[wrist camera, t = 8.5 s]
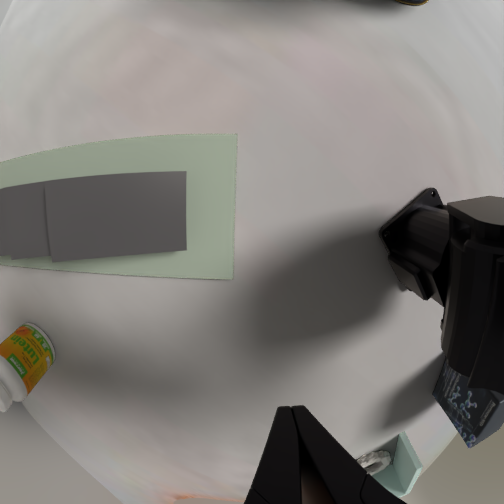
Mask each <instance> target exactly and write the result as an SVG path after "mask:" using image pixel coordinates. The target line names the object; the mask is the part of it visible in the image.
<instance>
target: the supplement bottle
mask: <svg viewBox="0 0 504 504" xmlns="http://www.w3.org/2000/svg"><path fill="white" fill-rule="evenodd" d="M54 361H55V351H54V347H53V345H52V343H51V341H50V339H49V338H48V337H47V335H46V334H45V333H44V332H43V331H42V330H41V329H40V328H39V327H37V326H36V325H34V324H31V323H25V324H23V325H22V326H20V327H19V328H18V329H17V330H16V331H15V332H14V333H12V334H11V335H10V336H9V337H8V338H7V339H6V340H5V341H3V342H2V343H1V344H0V411H2V412H6V411H7V409H8V408H9V407H10V406H11V404H12V400H14V401H23V400H24V399H25V398H26V397H27V395H28V394H29V393H30V392H31V390H32V389H33V388H34V386H35V385H36V384H37V383H38V381H39V380H40V379H41V378H42V376H43V375H44V374H45V373H46V371H47V370H48V369H49V368H50V366H51V365H52V364H53V362H54Z"/></svg>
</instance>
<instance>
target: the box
mask: <svg viewBox="0 0 504 504" xmlns="http://www.w3.org/2000/svg"><path fill="white" fill-rule="evenodd" d="M469 379H470V378H468V377H465V376H463V375H461V374H459V373H457V372H456V371H454V370H453V369H452V368H451V367H450V366H449V365H448V364H447V358H446V360H445V363H444V366H443V369H442V372H441V375H440V378H439V380H438V383H437V385H436V387H435V390H434V392H433V396H434V397H435V399H436V400H437V401H438V403H439V404H440V406H441V407H442V409H443V410H444V412H445V413H446V414H447V416H448V417H449V419H450V420H451V422H452V423H453V425H454V426H455V428H456V429H457V431H458V432H459V433H460V435H461V437H462V438H463V440H464V441H465V443H466V445H467V446H468V448H471V447H473V446H475V445H476V444H478V443H479V442H481V441H483V440H484V439H485V438H487V437H489V436H490V435H491V434H493V433H494V432H496V431H497V430H499V429H500V427H501V426H502V424H503V423H504V395H503V394H500V393H498V392H496V391H492V390H488V389H484V388H468V387H467V384H468V381H469Z"/></svg>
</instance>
